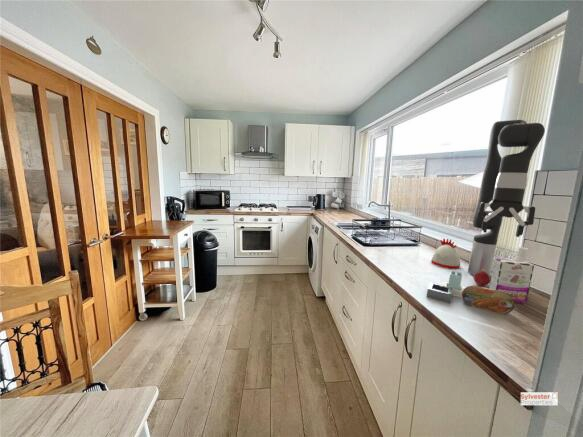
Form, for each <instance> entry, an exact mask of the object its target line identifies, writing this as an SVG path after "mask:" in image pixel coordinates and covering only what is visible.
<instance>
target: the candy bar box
mask: <svg viewBox="0 0 583 437" xmlns="http://www.w3.org/2000/svg"><path fill="white" fill-rule="evenodd" d="M529 262H530V261H529ZM529 262H527V261H520V260H512V259H506V258H497V257H496V258H495V257H494V259H493V265H492V270H491V276H490V282H489V288H490V289H495V290H500V291H503V292H505V293H507V294H508V295H509V296H510V297H511V298H512V299H513V301H514V303H519V304H527V302H528V296H529V293H530V289H531V288H530V287H531V283H532V277H533V273H534V268H535V264H534V263H531V262H530V263H529Z"/></svg>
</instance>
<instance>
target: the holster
mask: <svg viewBox="0 0 583 437" xmlns="http://www.w3.org/2000/svg"><path fill="white" fill-rule="evenodd" d="M448 284H449V281H446V280H445V281H444V282H443V285H444V286H448ZM464 289H465V286H464V285H460V290H457V289H453V288H452V296H454V297H457V298H461V299H463V298H462V292H463V290H464Z"/></svg>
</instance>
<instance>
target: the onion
mask: <svg viewBox="0 0 583 437" xmlns="http://www.w3.org/2000/svg"><path fill="white" fill-rule="evenodd" d="M473 280H474V282H475V284H476V285H477V286H479V287H484V286H488V285H490V283H491V276H490V277H489V275H488V274H487V273H486V272H485V270H482V271H481V272H478V273H476V274H475V275H473Z"/></svg>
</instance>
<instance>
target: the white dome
mask: <svg viewBox="0 0 583 437" xmlns="http://www.w3.org/2000/svg"><path fill="white" fill-rule="evenodd" d="M440 243H441V246H439V247H437V248H436V249H435V251H434V253H433V255H432V257H431V264H433V265H434V266H436V267H437V266H438V267H439V268H440V267H441V268H444V269H449V270H450V269H451V270H457V269H460V268H461V258H460V254H459V252H458V251H457V249H456V247H457V244H455V241H453V242H452V239H449V238H443V239H440Z"/></svg>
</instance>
